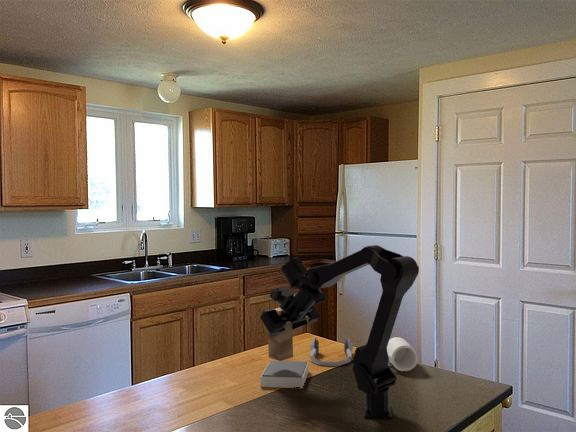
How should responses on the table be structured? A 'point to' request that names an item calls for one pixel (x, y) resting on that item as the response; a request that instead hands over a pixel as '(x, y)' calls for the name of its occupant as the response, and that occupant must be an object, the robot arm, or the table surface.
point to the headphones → (315, 349)
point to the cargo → (279, 310)
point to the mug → (401, 354)
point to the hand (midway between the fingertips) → (277, 333)
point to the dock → (284, 374)
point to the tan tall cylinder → (281, 344)
